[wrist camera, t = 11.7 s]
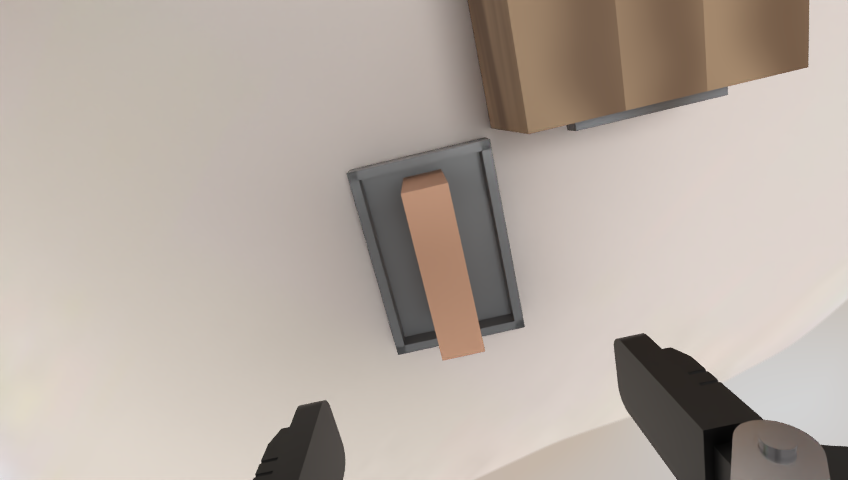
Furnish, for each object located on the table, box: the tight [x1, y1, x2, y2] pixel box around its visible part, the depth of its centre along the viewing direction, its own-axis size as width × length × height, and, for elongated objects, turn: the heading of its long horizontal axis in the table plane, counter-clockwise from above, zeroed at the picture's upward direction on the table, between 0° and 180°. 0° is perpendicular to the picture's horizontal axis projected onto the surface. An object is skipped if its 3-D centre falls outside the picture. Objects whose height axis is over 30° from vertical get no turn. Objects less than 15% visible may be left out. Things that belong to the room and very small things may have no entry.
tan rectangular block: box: [401, 169, 485, 360], centre depth 26 cm, size 2×10×6 cm, turn 13°
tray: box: [347, 138, 525, 355], centre depth 29 cm, size 9×13×2 cm
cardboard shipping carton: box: [468, 0, 809, 134], centre depth 22 cm, size 12×10×10 cm
